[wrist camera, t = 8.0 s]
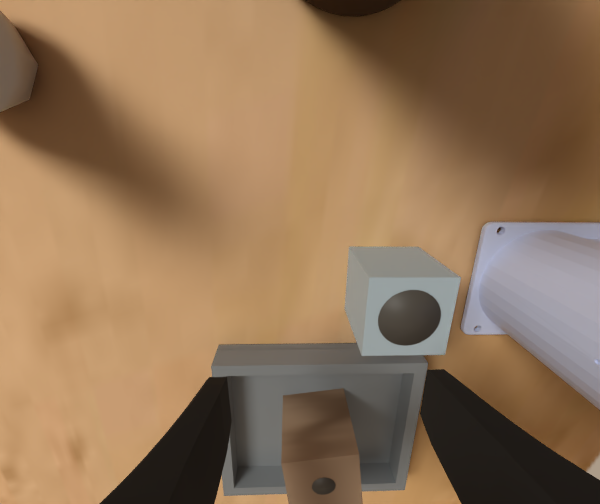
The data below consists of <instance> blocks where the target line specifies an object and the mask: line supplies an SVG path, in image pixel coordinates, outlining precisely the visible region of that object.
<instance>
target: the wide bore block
mask: <svg viewBox="0 0 600 504" xmlns="http://www.w3.org/2000/svg"><path fill="white" fill-rule="evenodd" d="M460 280H461V277H460V276H458V275H457V274H455V273H454V272H453V271H451V270H450V269H448V268H447V267H446V266H444V265H443V264H441V263H440V262H439V261H437V260H436V259H434V258H433V257H432V256H430V255H429V254H427V253H426V252H425V251H423V250H422V249H421V248H419V247H349V256H348V270H347V284H346V297H345V311H346V314H347V317H348V320H349V322H350V325H351V328H352V331H353V333H354V336H355V339H356V342H357V344H358V347H359V350H360V353H361V355H362V356H393V355H445V352H446V347H447V343H448V338H449V333H450V328H451V323H452V318H453V313H454V309H455V304H456V299H457V294H458V289H459V284H460Z"/></svg>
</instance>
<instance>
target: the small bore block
mask: <svg viewBox="0 0 600 504" xmlns="http://www.w3.org/2000/svg"><path fill="white" fill-rule="evenodd" d="M281 465H282V470H283V475H284V481H285V486H286V491H287V497H288V502H289V504H363V503H362V488H361V474H360V459H359V451H358V447H357V443H356V439H355V434H354V430H353V426H352V422H351V417H350V413H349V409H348V405H347V401H346V396H345V392H344V388H341V389H332V390H324V391H316V392H308V393H299V394H291V395H283V409H282V454H281Z"/></svg>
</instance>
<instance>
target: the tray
mask: <svg viewBox="0 0 600 504" xmlns="http://www.w3.org/2000/svg"><path fill="white" fill-rule="evenodd" d="M427 367H428V362H427V361H426V359H425V358H424V356H423V355H393V356H362V355H361V353H360V350H359V347H358V344H357V343H329V344H236V345H219V346H218V349H217V352H216V354H215V357H214V360H213V363H212V366H211V368H212V377H227V381H228V391H229V400H230V410H231V419H232V423H231V430H230V437H229V443H228V450H227V455H226V459H225V463H224V467H223V471H222V480H223V490H224V496H232V495H263V494H287V491H286V486H285V481H284V475H283V470H282V465H281V454H282V409H283V395H291V394H299V393H308V392H316V391H324V390H332V389H341V388H344V392H345V396H346V401H347V405H348V409H349V413H350V417H351V422H352V426H353V430H354V434H355V439H356V443H357V447H358V451H359V459H360V474H361V488H362V491H389V490H405V485H406V480H407V474H408V469H409V464H410V458H411V453H412V447H413V442H414V437H415V431H416V426H417V420H418V415H419V410H420V404H421V399H422V394H423V388H424V383H425V377H426V372H427Z"/></svg>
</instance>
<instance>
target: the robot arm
mask: <svg viewBox="0 0 600 504" xmlns="http://www.w3.org/2000/svg"><path fill="white" fill-rule="evenodd" d="M499 227H501V230H500V232H498V233H497V229H498V228H499ZM476 326H477V328H475V327H476ZM474 328H475V329H474ZM461 330H462V331H463V332H464V333H465V334H468V335H488V334H508V335H509V336H510V337H512V338H513V339H514V340H515V341H516V342H518V343H519V344H520V345H521V346H522V347H524V348H525V349H526V350H527V351H529V352H530V353H531V354H532V355H533V356H535V357H536V358H537V359H538V360H539V361H541V362H542V363H543V364H544V365H546V366H547V367H548V368H549V369H550V370H552V371H553V372H554V373H555V374H556V375H558V376H559V377H560V378H561V379H563V380H564V381H565V382H566V383H567V384H569V385H570V386H571V387H572V388H573V389H575V390H576V391H577V392H578V393H580V394H581V395H582V396H583V397H584V398H586V399H587V400H588V401H589V402H591V403H592V404H593V405H594V406H595V407H597V408H598V409H599V410H600V222H488V223H486V224H485V225H484V226H483V228H482V231H481V235H480V240H479V244H478V249H477V254H476V258H475V263H474V267H473V272H472V277H471V281H470V286H469V290H468V295H467V299H466V304H465V309H464V313H463V318H462V322H461ZM420 415H421V417H422V420H423V423H424V426H425V428H426V431H427V434H428V436H429V439H430V441H431V444H432V446H433V448H434V450H435V452H436V454H437V456H438V458H439V460H440V462H441V464H442V466H443V468H444V470H445V472H446V474H447V476H448V478H449V480H450V482H451V484H452V486H453V488H454V490H455V492H456V494H457V496H458V498H459V500H460V502H461V504H600V480H599V479H597V478H595V477H594V476H592V475H590V474H589V473H587V472H585V471H584V470H582V469H581V468H579V467H578V466H576V465H574V464H573V463H571V462H570V461H568V460H567V459H565V458H563V457H562V456H560V455H559V454H557V453H556V452H554V451H553V450H551V449H550V448H548V447H547V446H545V445H544V444H542V443H541V442H539V441H538V440H537V439H535V438H534V437H532V436H531V435H529V434H528V433H527V432H525V431H524V430H522V429H521V428H520V427H518V426H517V425H515V424H514V423H513V422H511V421H510V420H509V419H507V418H506V417H505V416H503V415H502V414H501V413H499V412H498V411H497V410H495V409H494V408H493V407H491V406H490V405H489V404H488V403H486V402H485V401H484V400H482V399H481V398H480V397H479V396H477V395H476V394H475V393H474V392H472V391H471V390H470V389H468V388H467V387H466V386H465V385H463V384H462V383H461V382H460V381H458V380H457V379H456V378H455V377H453V376H452V375H451V374H449V373H448V372H447V371H445V370H444V369H443V370H427V375H426V381H425V387H424V394H423V400H422V406H421V412H420ZM231 423H232V419H231V410H230V400H229V391H228V381H227V377H209V378H208V379H207V380H206V382H205V383H204V385H203V386H202V387H201V389H200V390H199V392H198V393H197V394H196V396H195V397H194V398H193V400H192V401H191V402H190V404H189V405H188V406H187V408H186V409H185V410H184V412H183V413H182V414H181V415H180V417H179V418H178V419H177V420H176V422H175V423H174V424H173V425H172V427H171V428H170V429H169V430H168V432H167V433H166V434H165V435H164V436H163V437H162V439H161V440H160V441H159V442H158V443H157V444H156V445H155V447H154V448H153V449H152V450H151V451H150V452H149V453H148V455H147V456H146V457H145V458H144V459H143V460H142V461H141V462H140V463H139V464H138V466H137V467H136V468H135V469H134V470H133V471H132V472H131V473H130V474H129V475H128V476H127V477H126V478H125V479H124V480H123V481H122V482H121V483H120V484H119V485H118V486H117V487H116V488H115V489H114V490H113V491H112V492H111V493H110V494H109V495H108V496H107V497H106V498H105V499H104V500H103V501H102V502H101V503H100V504H214V502H215V499H216V495H217V491H218V487H219V483H220V479H221V475H222V471H223V467H224V463H225V459H226V455H227V450H228V443H229V437H230V430H231Z"/></svg>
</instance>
